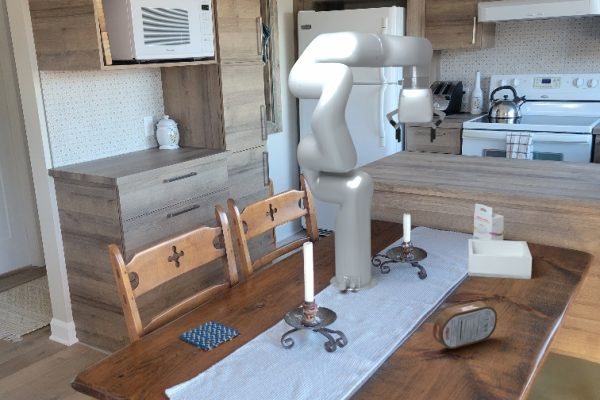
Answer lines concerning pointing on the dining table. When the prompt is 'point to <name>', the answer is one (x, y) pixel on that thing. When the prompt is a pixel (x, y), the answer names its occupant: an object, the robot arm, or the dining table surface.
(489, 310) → the tin
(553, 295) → the dining table surface
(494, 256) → the walled box
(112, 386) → the dining table surface
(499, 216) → the ink cartridge box
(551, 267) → the dining table surface
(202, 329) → the woven mat
